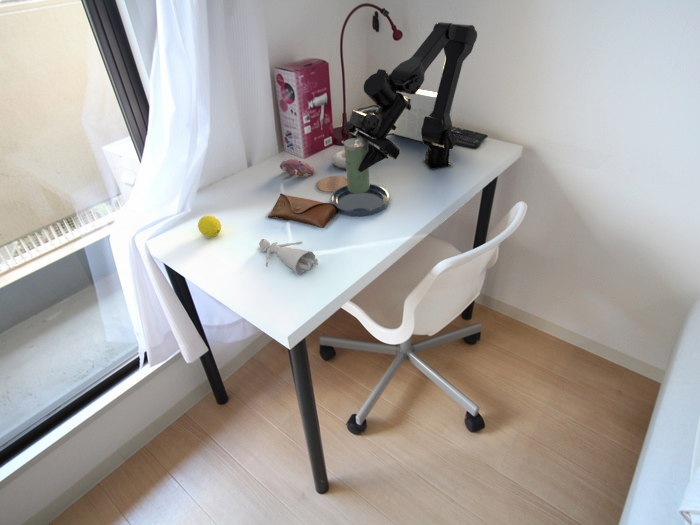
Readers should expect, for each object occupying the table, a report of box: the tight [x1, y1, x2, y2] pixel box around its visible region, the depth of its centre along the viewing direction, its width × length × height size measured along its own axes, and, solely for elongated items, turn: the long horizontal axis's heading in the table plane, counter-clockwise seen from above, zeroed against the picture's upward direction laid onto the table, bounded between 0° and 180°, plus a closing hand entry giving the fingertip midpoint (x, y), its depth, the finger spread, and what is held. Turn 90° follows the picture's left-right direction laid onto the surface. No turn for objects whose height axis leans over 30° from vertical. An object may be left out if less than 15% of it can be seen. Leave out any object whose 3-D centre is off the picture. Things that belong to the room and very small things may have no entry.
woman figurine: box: [258, 238, 319, 275], centre depth 100 cm, size 12×4×18 cm
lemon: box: [197, 215, 222, 238], centre depth 109 cm, size 7×5×5 cm
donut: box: [332, 149, 346, 170], centre depth 140 cm, size 10×3×10 cm
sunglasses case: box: [267, 193, 339, 229], centre depth 115 cm, size 18×7×7 cm, turn 66°
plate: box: [329, 183, 390, 218], centre depth 119 cm, size 16×16×2 cm
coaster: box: [316, 175, 347, 193], centre depth 129 cm, size 10×10×1 cm
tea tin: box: [343, 138, 371, 193], centre depth 113 cm, size 6×6×13 cm
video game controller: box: [279, 158, 315, 177], centre depth 134 cm, size 10×5×7 cm, turn 68°
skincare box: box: [393, 89, 454, 143], centre depth 149 cm, size 21×6×16 cm, turn 46°
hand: (352, 167), depth 113 cm, fingers closed on tea tin, 6 cm apart
